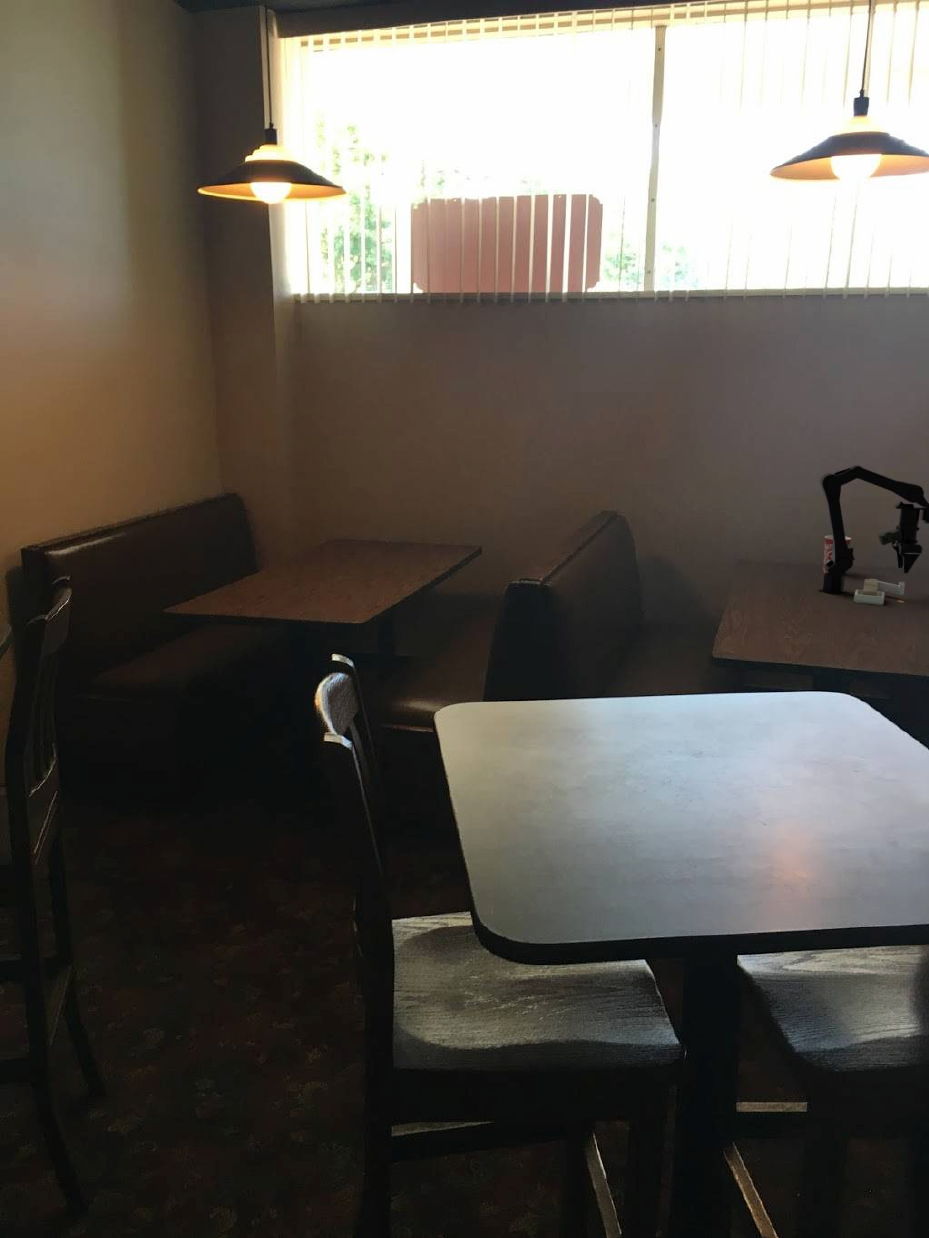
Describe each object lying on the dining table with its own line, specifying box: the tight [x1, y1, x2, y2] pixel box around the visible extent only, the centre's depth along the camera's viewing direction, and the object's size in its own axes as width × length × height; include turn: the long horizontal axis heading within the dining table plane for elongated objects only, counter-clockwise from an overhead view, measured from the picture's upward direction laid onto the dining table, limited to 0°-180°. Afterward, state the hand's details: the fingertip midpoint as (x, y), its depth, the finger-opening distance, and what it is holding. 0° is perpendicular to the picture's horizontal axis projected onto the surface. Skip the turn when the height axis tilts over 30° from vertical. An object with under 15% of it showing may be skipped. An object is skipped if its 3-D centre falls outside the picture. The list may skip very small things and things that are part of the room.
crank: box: [869, 578, 906, 596], centre depth 314 cm, size 13×3×4 cm, turn 31°
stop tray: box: [853, 589, 885, 606], centre depth 308 cm, size 9×9×2 cm
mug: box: [822, 535, 852, 574], centre depth 351 cm, size 13×9×14 cm
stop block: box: [862, 578, 879, 596], centre depth 307 cm, size 4×4×6 cm
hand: (902, 570), depth 314 cm, fingers open, 9 cm apart
